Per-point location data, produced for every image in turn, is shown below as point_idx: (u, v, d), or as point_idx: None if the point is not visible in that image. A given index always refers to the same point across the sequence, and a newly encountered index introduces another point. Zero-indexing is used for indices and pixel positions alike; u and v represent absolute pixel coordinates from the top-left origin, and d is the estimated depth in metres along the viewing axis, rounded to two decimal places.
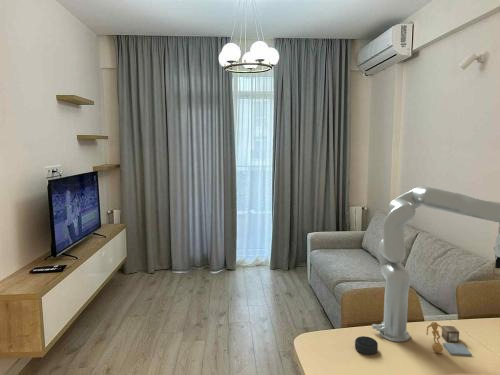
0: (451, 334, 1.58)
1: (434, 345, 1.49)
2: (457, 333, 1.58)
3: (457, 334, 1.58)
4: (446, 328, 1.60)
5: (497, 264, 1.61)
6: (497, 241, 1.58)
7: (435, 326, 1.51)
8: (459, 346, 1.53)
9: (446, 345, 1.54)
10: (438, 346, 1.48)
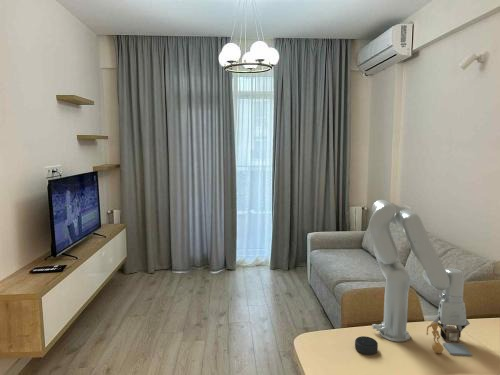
0: (451, 334, 1.58)
1: (434, 345, 1.49)
2: (457, 333, 1.58)
3: (457, 334, 1.58)
4: (446, 328, 1.60)
5: None
6: (447, 310, 1.57)
7: (435, 326, 1.51)
8: (459, 346, 1.53)
9: (446, 345, 1.54)
10: (438, 346, 1.48)
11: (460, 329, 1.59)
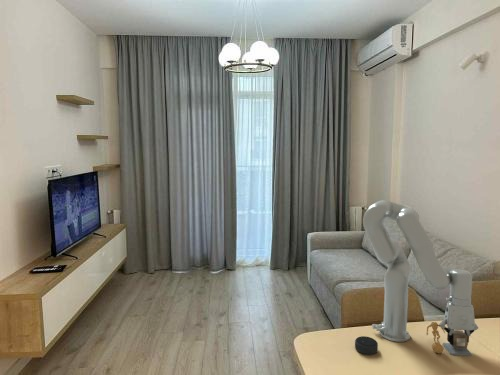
0: (459, 339, 1.49)
1: (434, 345, 1.49)
2: (465, 338, 1.49)
3: (465, 339, 1.49)
4: (453, 333, 1.51)
5: None
6: (454, 314, 1.48)
7: (435, 326, 1.51)
8: None
9: (446, 345, 1.54)
10: (438, 346, 1.48)
11: (468, 334, 1.50)
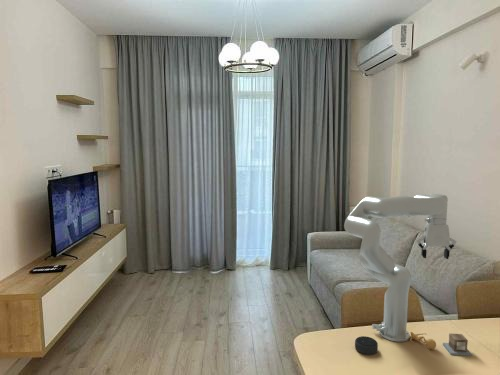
0: (459, 343, 1.49)
1: None
2: (465, 342, 1.49)
3: (465, 343, 1.49)
4: (453, 336, 1.51)
5: None
6: (432, 232, 1.67)
7: (413, 334, 1.60)
8: None
9: (446, 345, 1.54)
10: (427, 340, 1.53)
11: (449, 248, 1.69)
